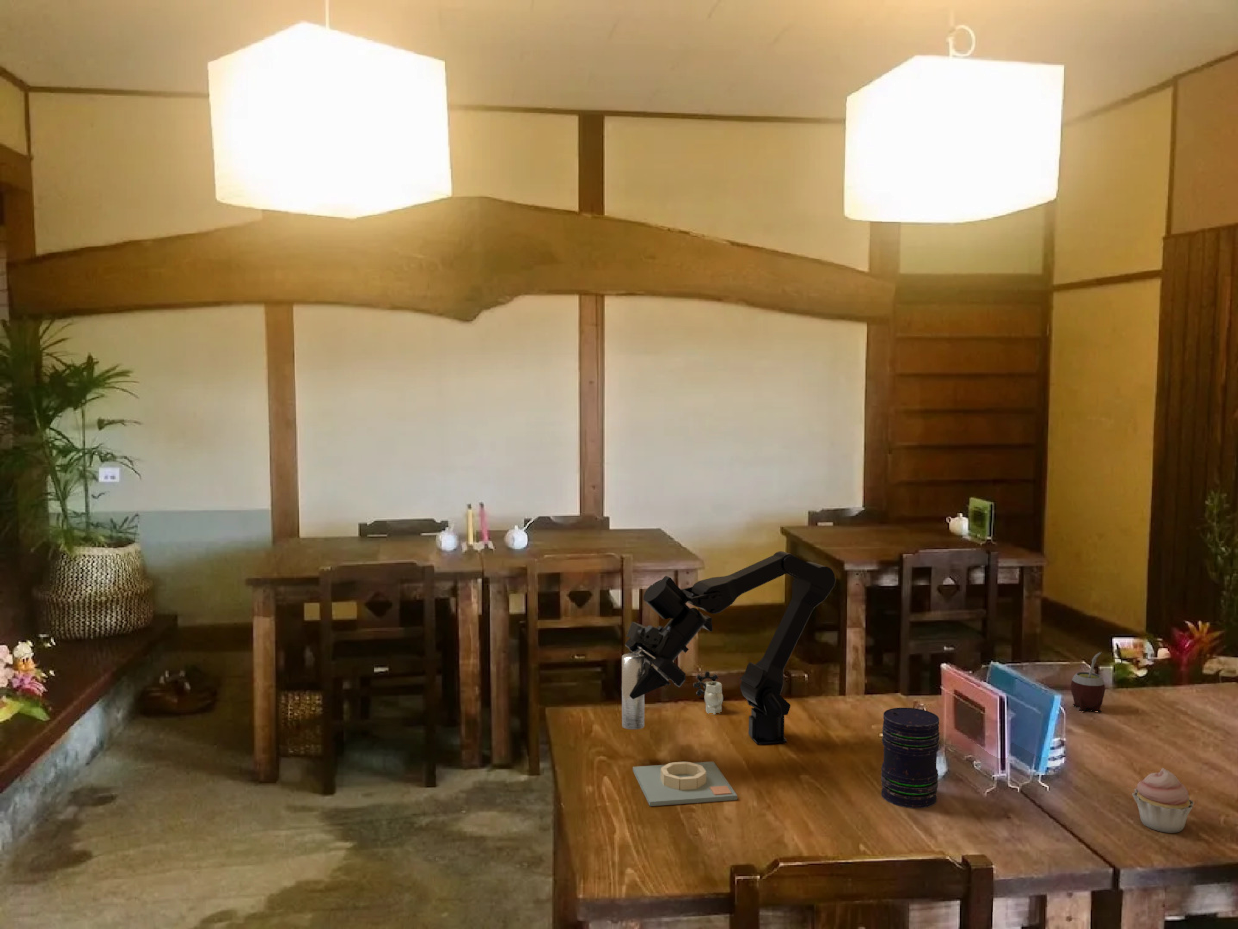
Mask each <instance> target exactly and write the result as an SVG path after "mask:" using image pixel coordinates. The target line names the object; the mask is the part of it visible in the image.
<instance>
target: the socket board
mask: <svg viewBox="0 0 1238 929" xmlns="http://www.w3.org/2000/svg"><path fill="white" fill-rule="evenodd" d="M632 772H633V773H634V774H633V775H634V776H635V778H636V780H637V782H638V785H639V786H640V789H641V791H642V793H643V795H644V797H645V799H646V802H647V804H648V806H649V807H660V806H671V805H682V804H683V805H684V804H699V803H711V802H712V803H713V802H723V801H737V800H738V795H737V793H736V791H735V790H734V789H733V787H732V785H731V784H730V783H729V781H728V780H727V779H726V777H725V776H724V774H723V773H722V772H721V770H720V769H719V768H718V766H717V764H716V763H715V761H702V762H701V761H700V762H690V761H677V762H676V761H674V762H669V763H667V764H658V765H657V764H656V765H642V766H641V765H640V766H632Z"/></svg>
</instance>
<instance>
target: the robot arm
mask: <svg viewBox="0 0 1238 929" xmlns="http://www.w3.org/2000/svg"><path fill="white" fill-rule="evenodd" d="M784 575H788V576H790V577H793V581H792V586H791V588H792V592H791V593H792V594H791V596H792V597H791V600H790V602H789V604H788V606H787V608H786V610H785V612H784V614H783V616H782V618H781V620H780V621H779V622H780V623H779V624H778V627H777V628H776V630H775V632H774V634H773V636H772V638H771V641H770V643H769V644H768V646H767V649H766V651H765V653H764V655H763V656H762V658H761V659H760V660H759V661H758V662H756V663H753V662H751V661H750V662H748V663H747V666H746V669H745V671H744V673H743V675H742V676H740V680H741V683H740V685H739V686H740V687H739V689H740V692H741V694H742V696H743V697H744V698H745V699H746V701H747V704H748V706H751V710H750V711H751V712H750V713H751V715H749V716H748V733H747V734H748V735H749V736H750V737H751V739H752V740H753V741H754V743H756V745H770V744H771V745H772V744H782V743H784V744H786V743H787V742H788V740H787V738H786V737H785V716H787V715H789V712H790V708H791V704H790V703H789V702H788V701H787V700H786V699H785V698H784V696H782V695H781V693H782V691H783V687H784V670H785V668H786V665H787V663H788V662H789V660H790V658H791V655H792V653H793V651H794V649H795V647H796V645H797V643H798V640H799V639H800V637H801V635H802V633H803V631H804V629H805V626H806V625H807V623H808V621H809V618H810V616H811V615H812V612H813V610H814V609H816V607H818V606H819V605H820V604H821V603H822V602H824V601H825V600H826V599H827V597H828V596H829V595H830V594H831V591H832V590H833V588H835V585H836V580H837V578H836V577H835V572H834V571H833V569H832V568H831V567H828V566H826V565H823V564H819V563H816V562H813V561H805V560H802V559H801V558H799V557H796V556H795V555H794V554H793V553H788V552H785V551H777V552H775V553H774V554H773V555H770V556H769V557H766V558H764V559H762V560H760V561H757V562H756V563H755V562H754V563H752V564H750V565H749V566H746V567H744V568H741V569H740V570H737V571H736V572H732V573H731V574H728V575H724V576H715V577H710V578H705V579H702V580H698V581H697V582H694V584H693V585H692V586H690V587H686V588H680V587H679V586H678V585H677V584H676V582H675V580H673V578H671V577H669V576H668V575H665V576H664V577H662V579H659V580H657V581H656V582H654V583H653V584H650V585H649V586H648V587H647V589H646V590H645V592H644V594H643V598H642V599H643V601H644V602H645V603H646V604H647V605H648V606H649V607H650V608H651V609H652V610H653V611H654V612H655V613H657V614H658V615H659V616H660V617H661V619H662V620H668V619H670V620H669V621H668V622H667V623H666V624H665V626H662V625H659V626H657V627H655V626H652V625H651V624H649V625H648V626H645V625H644V624H640V623H637V622H635V621H631V624H630V625H629V628H628V631H627V633H626V635H625V636H626V637H627V638H628V640H627V641H626V642H625V643H624V646H625V647H626V648H627V649H628V650H629V652H628V653H638V654H642V655H644V674H643V675H642V677H641V678H640V680H639V681H638V683H637V684H636V686H635V687H634V688H633V690H632V692H631V693H630V697H631V698H632V699H635V698H637V697H639V696H642V695H644V696H645V695H646V694H648V693H650V692H652V691H655V690H657V689H660V688H662V687H664V686H667V685H668V686H670V685H671V682H672V683H673V684H674V685H675V686H677V687H678V688H681V686H682V685H683V684H684V683H685V682H686V681H687V680H686V678H687V677H686V676H687V675H686V672H684V670H682V669H681V667H679V666H678V665H677V664H676V663H675V662H674V661H675V660H676V658H678V656H679V655H680V654H681V653H682V652H683V653H685V654H686V653H687V652H688V651H689V650H690V649H689V647H687V646H688V644H690V642H692V640H693V639H694V638H695V636H696V635H697V634H698V632H700V630H701V629H705V630H706V631H708V632H711V633H712V632H713V624H712V621H713V618H712V617H711V616H709V615H704V614H703V613H702V612H701V611H700V610H703V611H704V612H706V613H709V614H712V615H716V614H720V613H722V611H724V610H726V609H727V608H729V607H731V606H732V605H733V604H734V603H735V601H736V600H737V599H738V598H740V596H742V595H743V594H746V593H747V592H750V591H752V590H754V589H756V588H758V587H760V586H762V585H765V584H767V583H769V582H771V581H774V580H776V579H778V578H780V577H782V576H784ZM687 604H689V605H691V606H694V607H691V608H690V606H688V605H687ZM699 609H700V610H699ZM669 680H671V682H670V681H669ZM620 690H621V691H622V685H621V686H620Z"/></svg>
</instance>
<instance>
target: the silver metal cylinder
mask: <svg viewBox="0 0 1238 929" xmlns="http://www.w3.org/2000/svg"><path fill="white" fill-rule="evenodd" d="M643 674H644V655H642V654H638V653H629V652H627V653H624V654H623V655H621V686H622V690H621V727H622V728H624V729H627V730H640V729H643V728H644V727H645V694H644V695H642V696H639V697H637V698H635V699H632V698H631V697H630V693H631V692H632V690H633V688H634V687H635V686H636V684H637V683H638V681H639V680H640V678H641V677H642V675H643Z"/></svg>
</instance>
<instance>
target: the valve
mask: <svg viewBox="0 0 1238 929" xmlns="http://www.w3.org/2000/svg"><path fill="white" fill-rule="evenodd" d="M709 671H710V670H709ZM709 671H708V670H706V671H704V675H703V676H702V675H701V674H700V673H699V674H696V680H698V682H696V681H695V682H693V684H692V686H693V688H695V689H697V688H698V690H697V691H696V692H695V693H696V696H697V697H701V696H702V694H703V695H704V703H705V712H706V714H709V713H713V714H712V715H717V714H716V713H719V714H721V713H720V712H722V710H723V708H722V704H723V701H724V695H723V684H722V683H721V682H720V681H716V680H718V679H719V676H718V674H717V673H713V675H712V676H711V673H710V672H709ZM706 679H708V680H711V681H707V680H706ZM704 680H706V681H705V682H703V681H704ZM701 686H703V689H704V690H703V689H702V688H701Z"/></svg>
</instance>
